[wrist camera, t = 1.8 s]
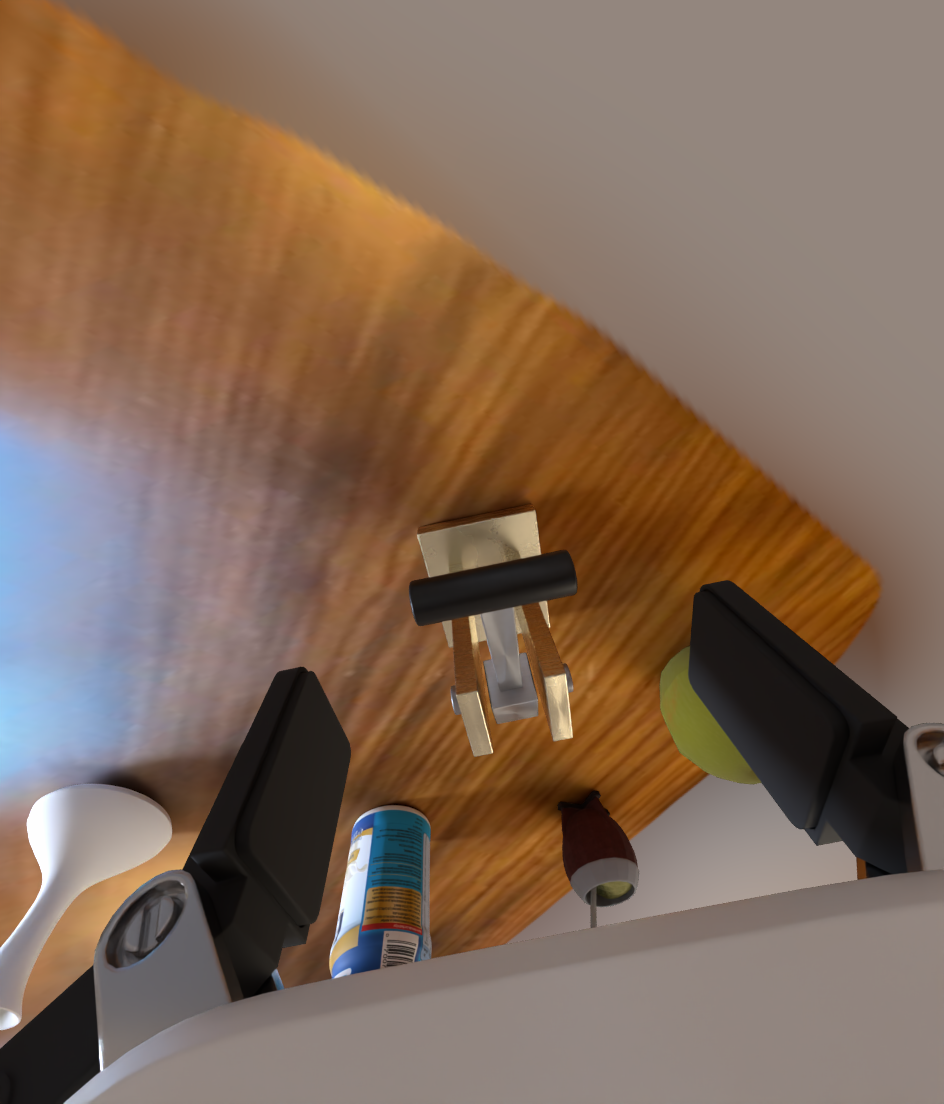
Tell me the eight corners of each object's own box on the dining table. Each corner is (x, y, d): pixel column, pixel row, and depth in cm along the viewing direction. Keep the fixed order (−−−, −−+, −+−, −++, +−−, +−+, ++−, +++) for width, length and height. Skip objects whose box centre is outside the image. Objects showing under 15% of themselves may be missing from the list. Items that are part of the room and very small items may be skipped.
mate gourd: (625, 793, 45) (704, 984, 32) (591, 833, 48) (649, 1021, 35) (566, 783, 43) (623, 980, 30) (534, 825, 47) (573, 1020, 33)
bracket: (417, 527, 28) (406, 655, 17) (531, 503, 28) (597, 617, 17) (448, 638, 33) (455, 796, 22) (546, 618, 33) (605, 767, 22)
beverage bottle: (443, 834, 46) (449, 1145, 28) (373, 854, 47) (337, 1169, 29) (413, 792, 42) (397, 1123, 24) (337, 815, 43) (269, 1152, 25)
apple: (634, 708, 39) (701, 833, 29) (645, 627, 34) (728, 743, 25) (739, 694, 39) (839, 813, 29) (763, 611, 34) (891, 720, 25)
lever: (406, 560, 13) (411, 628, 12) (561, 528, 13) (584, 592, 12) (463, 684, 23) (470, 729, 21) (552, 666, 23) (565, 710, 21)
